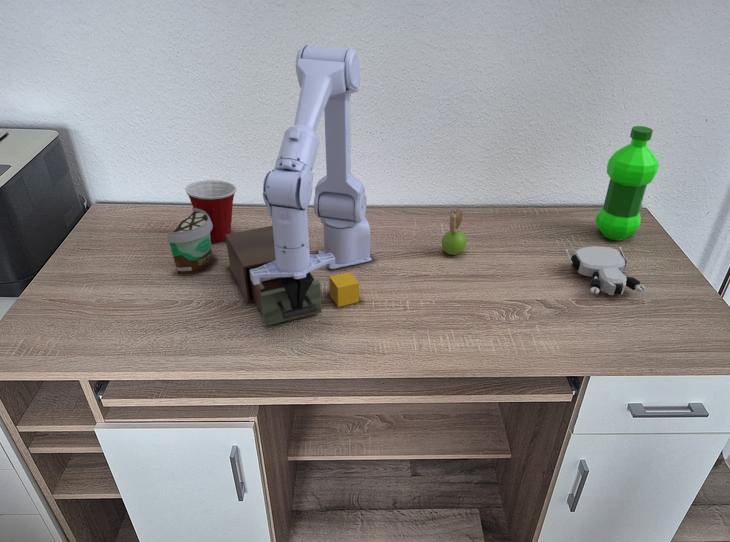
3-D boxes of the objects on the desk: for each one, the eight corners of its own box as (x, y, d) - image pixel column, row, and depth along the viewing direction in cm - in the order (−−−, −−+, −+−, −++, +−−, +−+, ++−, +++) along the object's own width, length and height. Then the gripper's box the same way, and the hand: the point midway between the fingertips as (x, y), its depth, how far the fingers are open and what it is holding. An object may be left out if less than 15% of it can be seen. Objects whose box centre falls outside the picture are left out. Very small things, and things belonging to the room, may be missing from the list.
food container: (202, 281, 125) (194, 236, 119) (174, 277, 126) (165, 233, 120) (227, 252, 135) (221, 209, 129) (200, 248, 135) (193, 206, 130)
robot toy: (644, 302, 124) (614, 260, 135) (651, 284, 121) (620, 242, 132) (586, 305, 122) (560, 262, 134) (592, 287, 119) (565, 244, 131)
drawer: (330, 326, 112) (329, 296, 108) (273, 340, 108) (269, 309, 104) (298, 278, 125) (296, 250, 121) (245, 289, 121) (242, 260, 117)
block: (350, 290, 123) (350, 271, 121) (359, 302, 120) (359, 282, 117) (329, 295, 122) (329, 276, 119) (338, 307, 118) (337, 287, 116)
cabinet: (307, 289, 123) (305, 254, 118) (248, 302, 119) (243, 266, 114) (285, 257, 133) (282, 223, 129) (230, 268, 129) (225, 234, 124)
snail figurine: (435, 258, 134) (440, 207, 127) (444, 245, 139) (449, 195, 132) (459, 263, 133) (465, 212, 126) (468, 250, 138) (473, 200, 131)
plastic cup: (252, 233, 142) (246, 184, 135) (218, 252, 134) (210, 201, 127) (217, 221, 146) (210, 173, 139) (183, 239, 139) (173, 189, 132)
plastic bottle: (646, 240, 143) (679, 134, 129) (610, 248, 140) (639, 139, 125) (617, 222, 151) (645, 119, 136) (582, 229, 147) (607, 124, 133)
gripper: (255, 260, 96) (263, 330, 104) (341, 243, 102) (342, 311, 110) (243, 240, 101) (251, 308, 109) (326, 225, 107) (328, 291, 115)
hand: (296, 308), depth 110 cm, fingers closed, pressing on drawer
